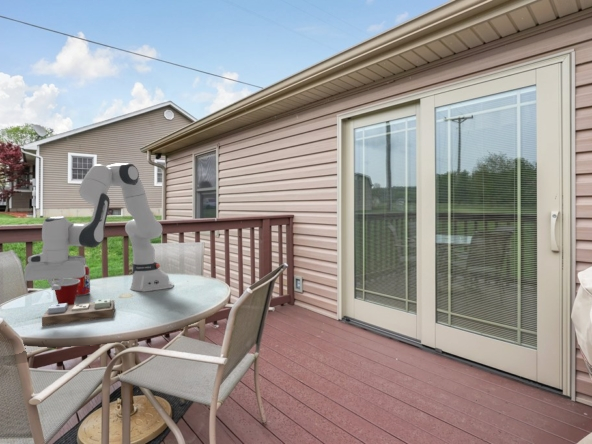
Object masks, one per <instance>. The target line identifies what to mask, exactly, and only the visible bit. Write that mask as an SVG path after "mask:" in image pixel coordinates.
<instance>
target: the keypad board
mask: <svg viewBox="0 0 592 444" xmlns="http://www.w3.org/2000/svg"><path fill="white" fill-rule="evenodd" d="M95 302H96V301H94V302H83V303H75V304H73V305H67V310H66V312H59V313H50V314H48V309H47V310H46V311H45V313H44V314H43V315H42V316H41V326H42V327H46V326H54V324H55V325H61V324H62V325H63V324H71V323H77V322H79V323H80V322H85V321H86V322H87V321H94V320H102V319H109V318H111V319H112V318H113V317H114V312H115V308H116V307H115V300H114V299H113V300H112V299H111V306H110V307H104V308H95ZM82 304H90V307H89V309H86V310H77V311H72V308H73V307H74V305H82ZM45 325H46V326H45Z"/></svg>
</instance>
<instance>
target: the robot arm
mask: <svg viewBox="0 0 592 444" xmlns="http://www.w3.org/2000/svg"><path fill="white" fill-rule="evenodd" d="M79 185H80V186H79V189H78V193H79V196H80V197H81V198H82V200H83V201H85V202H86V203H88V204H90V205H92V206H94V208H93V213H92V216H91V219H90V221H89V222H88V223H84V224H83V223H74V222H71V221H70V220H68V219H67V216H63V215H59V216H57V215H55V216H49V217H46V218H45V219H44V220H43V223H42V227H41V228H42V229H41V240H42V242H43V245H42V249H41V250H42V251H41V252H40V253H36V254H33V255H30V256H28V257H27V262H28V263H27V264H26V265H25V267H24V271H23V273H24V276H23V277H24V280H25V281H26V282H29V281H43V280H44V281H46V280H47V283H48V284H49V285H50V286H51V291H55V290H60V289H61V284H62V283H63V281H64V279H67V278H81V277H83V276H84V275H85V266H84V265H87V264H86V263H87V258H86V257H85V256H83V255H81V254H78V255H70V249H69V248H70V247H84V248H93V249H94V248H96V247H98V246H100V244H101V243H103V241H104V238H105V228H106V223H107V218H108V213H109V209H110V203H111V202H110V196H108V191H109V189H110V187H120V188H121V193H122V197H123V200H124V204H125V207H126V211H127V213H129V214H130V216H131V217H132V219H130V220H128V221H127V222H126V223H125V226H124V230H125V232H126V233H125V234H127V235H128V237H129V241H130V243H131V248H132V265H131V272H132V279H131V280H132V281H131V285H130V290H132V291H137V292H138V291H139V292H143V293H144V292H151V291H158V290H159V291H160V290H167V289H172V288H173V287H174V282H173V281H170V277H169V275H168V274H167V273H166V272H165V271H163V270H161V269H160V267H161V265H160V263H158V262H156V261H155V260H156V259H155V256H156V255H155V247H154V246H153V244H152V243H151V240H153V239H158V238H159V237H161V235H162V233H163V225H162V224H161V223H160V222H159V221H158V219H157V218H156V217H155V215H154V213H153V212H152V209H151V208H150V205H149V202H148V199H147V194H146V191H145V188H144V185H143V182H142V181H141V178H140V172H139V169H138V168H137V167H136V166H135V165H134V164H133V163H127V162H125V163H113V164H109V165H104V164H94V165H93V166H91V167H90V169H89V170H88V171H87V173H86V174H85V176H84V177H83V179H82V181H81V183H80V184H79ZM69 246H70V247H69ZM54 280H59V281H61V282H60V283H59V285H54V284H53V281H54Z"/></svg>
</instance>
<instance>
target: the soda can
mask: <svg viewBox="0 0 592 444" xmlns="http://www.w3.org/2000/svg"><path fill="white" fill-rule="evenodd" d="M84 266H85V275H84V276H83V277H81V278H73V279H79V280H80V282H79V284H78V287H77V293H76V297H82V296H86V295H88V294H90V292H91V276H90V275H91V274H90V273H91V272H90V267H89V265H87V264H85V265H84Z"/></svg>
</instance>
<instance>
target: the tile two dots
mask: <svg viewBox="0 0 592 444" xmlns="http://www.w3.org/2000/svg"><path fill="white" fill-rule="evenodd" d="M111 301H112V299H111V298H106V299H95V301H94V302H95V308H104V307H110V306H111Z"/></svg>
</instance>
